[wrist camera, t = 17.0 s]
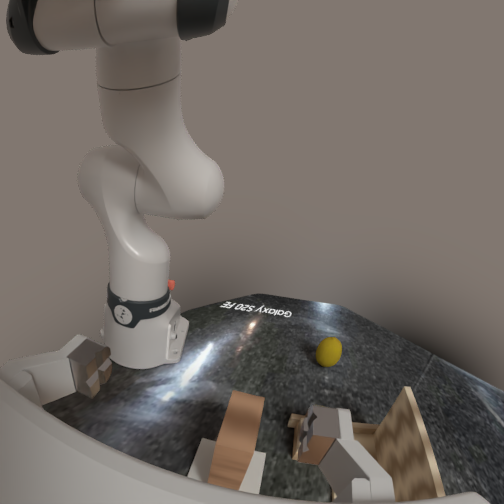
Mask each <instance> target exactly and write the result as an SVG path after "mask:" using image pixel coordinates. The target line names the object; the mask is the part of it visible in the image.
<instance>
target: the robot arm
mask: <svg viewBox="0 0 504 504" xmlns="http://www.w3.org/2000/svg"><path fill="white" fill-rule="evenodd" d="M237 3H238V0H10V1H9V4H8V9H7V18H6V23H7V30H8V33H9V36H10V38H11V40H12V41H13V43H14V44H15V45H16V47H17V48H18V49H19V50H20V51H21V52H23V53H25V54H31V55H32V54H33V55H48V54H55V53H57V52H59V51H60V50H62V51H63V50H80V49H91V48H96V76H97V86H98V94H99V102H100V109H101V116H102V122H103V126H104V129H105V131H106V133H107V135H108V136H109V137H110V138H111V139H112V140H113V141H114V142H115V143H116V144H118V145H111V146H103V147H97V148H93V149H91V150H90V151H89V152H88V153H87V154H86V155H85V157H84V158H83V160H82V162H81V164H80V166H79V170H78V177H77V178H78V187H79V190H80V193H81V194H82V196H83V198H84V199H85V200H86V201H87V202H88V203H89V204H90V205H91V206H92V208H93V209H94V211H95V212H96V214H97V216H98V218H99V220H100V222H101V224H102V227H103V229H104V232H105V235H106V239H107V243H108V251H109V271H110V272H109V274H110V282H109V283H108V288H107V303H106V304H105V306H104V327H103V328H101V329H100V336H101V338H102V339H103V340H104V344H102V343H99V342H97V341H95V340H93V339H91V338H88V337H86V336H84V335H82V334H78V335H76V336H75V337H74V338H73V339H71V340H70V341H69V342H68V343H67V344H65V345H64V346H63V347H62V348H61V349H60V350H59V351H57V352H56V351H51V352H46V353H41V354H36V355H32V356H26V357H21V358H16V359H11V360H9V361H8V362H7V363H5V364H4V365H3V366H2V367H0V504H490V503H489V502H488V501H486V500H485V499H484V498H483V497H482V496H480V495H479V494H477V493H476V492H464V493H459V494H454V495H449V496H443V497H437V498H430V499H423V500H414V501H404V502H395V495H394V488H393V482H392V477H391V476H390V475H389V474H388V473H387V472H386V471H385V470H384V469H383V468H382V467H381V466H380V465H379V464H378V462H377V461H376V460H375V459H374V458H373V457H372V456H371V455H370V454H369V453H368V452H367V450H366V449H365V448H364V447H363V446H362V445H361V444H360V443H359V442H358V441H357V440H354V435H353V428H352V420H351V413H350V410H349V409H341V408H332V407H325V406H318V405H311V406H310V408H309V410H308V417H306V418H304V420H303V423H302V425H301V428H300V433H299V441H300V442H301V445H300V446H299V448H298V461H297V462H301V463H308V464H314V465H319V468H320V470H321V471H322V473H323V475H324V476H325V478H326V479H327V481H328V483H329V484H330V486H331V488H332V489H333V491H334V493H335V494H336V496H337V497H336V498H335V499H334V500H333V501H332V502H331V503H327V502H313V501H302V500H293V499H285V498H278V497H271V496H265V495H259V494H254V493H249V492H244V491H239V490H234V489H230V488H226V487H222V486H218V485H214V484H210V483H206V482H203V481H199V480H196V479H192V478H189V477H186V476H183V475H180V474H177V473H174V472H171V471H168V470H165V469H162V468H159V467H157V466H154V465H151V464H149V463H146V462H144V461H141V460H139V459H136V458H134V457H132V456H129V455H127V454H125V453H122V452H120V451H118V450H116V449H114V448H112V447H109V446H107V445H105V444H103V443H101V442H99V441H97V440H95V439H93V438H91V437H89V436H87V435H86V434H84V433H82V432H80V431H78V430H76V429H75V428H73V427H71V426H69V425H68V424H66V423H64V422H62V421H61V420H59V419H57V418H56V417H54V416H53V415H51V414H49V413H48V412H46V411H45V410H44V409H43V407H42V405H44V404H47V403H49V402H52V401H54V400H57V399H59V398H62V397H64V396H67V395H69V394H72V393H74V392H76V391H77V392H80V393H82V394H84V395H86V396H88V397H90V398H93V397H94V396H95V395H96V394H97V392H98V391H99V390H100V384H103V383H106V382H107V380H108V379H109V377H110V375H111V372H112V362H111V361H110V359H109V358H108V357H110V358H111V359H112V360H113V361H114V362H116V363H118V364H120V365H122V366H125V367H129V368H134V369H147V368H153V367H156V366H159V365H162V364H170V363H177V362H179V361H180V359H181V355H182V351H183V347H184V343H185V339H186V336H187V332H188V328H189V321H187V320H186V319H185V318H183V317H182V316H180V306H179V304H178V303H177V302H175V301H174V300H172V299H171V294H170V292H169V289H170V290H173V289H174V286H175V282H174V280H169V279H168V277H169V266H170V256H171V255H170V251H169V248H168V246H167V244H166V242H165V241H164V240H163V239H162V238H161V237H160V236H159V235H158V234H156V233H155V232H154V231H153V230H151V229H150V227H149V226H148V224H147V223H146V221H145V218H144V214H148V215H154V216H160V217H166V218H172V219H177V220H180V219H181V220H182V219H205V218H207V217H209V216H210V215H211V214H212V213H213V212H214V211H215V210H216V209H217V207H218V206H219V204H220V202H221V200H222V197H223V194H224V178H223V174H222V172H221V169H220V168H219V166H218V165H217V163H216V162H215V161H213V160H212V159H210V158H209V157H208V156H207V155H206V154H204V153H203V152H202V151H201V150H200V149H199V148H198V146H197V145H196V144H195V143H194V141H193V140H192V138H191V137H190V135H189V133H188V131H187V129H186V127H185V124H184V121H183V117H182V108H181V61H182V53H181V40H186V41H187V40H190V39H192V38H197V37H202V36H206V35H210V34H212V33H213V32H215V31H216V30H218V29H220V28H221V27H222V26H224V25H225V23H226V19H227V18H228V17H229V16H230V15H231V13H232V12H233V10H234V9H235V7H236V5H237Z"/></svg>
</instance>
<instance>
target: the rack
mask: <svg viewBox="0 0 504 504" xmlns="http://www.w3.org/2000/svg"><path fill="white" fill-rule="evenodd" d="M301 418H305V416H304V415H298V414H291V416H290V419H289V421H288V427H292V428H295V427H296V425H297V422H300V420H301ZM352 428H353V435H354V440H357V441H358V442H359V443H360V444H361V445H362V446H363V447H364V448H365V449H366V450H367V452H368V453H369V454H370V455H371V456H372V457H373V458H374V459H375V460H376V461H377V462H378V464H379V465H380V466H381V467H382V468H383V469H384V470H385V471H386V472H387V473H388V474H389V475H390V476H391V477H392V482H393V488H394V495H395V502H404V501H414V500H423V499H430V498H437V497H443V496H445V492H444V488H443V485H442V481H441V477H440V474H439V470H438V467H437V463H436V460H435V457H434V454H433V450H432V447H431V444H430V441H429V438H428V435H427V432H426V429H425V426H424V423H423V420H422V417H421V414H420V412H419V409H418V406H417V403H416V401H415V398H414V395H413V393H412V390H411V387H404V388H403V390H402V391H401V393H400V395H399V396H398V398H397V399H396V401H395V403H394V404H393V406H392V407H391V409H390V410H389V412H388V414H387V415H386V417H385V418H384V420H383V421H382V423H381V424H380V425H377V424H365V423H355V422H352ZM336 497H337V496H336V494H335V493H334V491H333V489H332V501H333V500H334V499H335V498H336Z"/></svg>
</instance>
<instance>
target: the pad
mask: <svg viewBox="0 0 504 504" xmlns="http://www.w3.org/2000/svg"><path fill="white" fill-rule="evenodd" d="M215 445H216V441H212V440H208V439H205V438H202V440H201V442H200V445H199V448H198V450H197V453H196V455H195V458H194V461H193V463H192V466H191V468H190V471H189V473H188V476H187V477H189V478H192V479H196V480H199V481H203V482H206V483H207V482H208V478H209V473H210V468H211V464H212V459H213V454H214V449H215ZM265 456H266V453H262V452H257V451H254V454H253V457H252V459H251V462H250V464H249V466H248V469H247V471H246V474H245V476H244V479H243V481H242V483H241V486H240V488H239V491H244V492H249V493H254V494H259V490H260V484H261V479H262V473H263V468H264V462H265Z"/></svg>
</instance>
